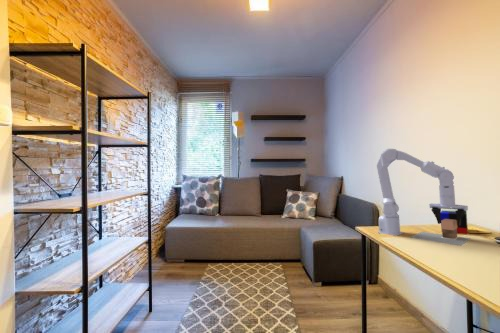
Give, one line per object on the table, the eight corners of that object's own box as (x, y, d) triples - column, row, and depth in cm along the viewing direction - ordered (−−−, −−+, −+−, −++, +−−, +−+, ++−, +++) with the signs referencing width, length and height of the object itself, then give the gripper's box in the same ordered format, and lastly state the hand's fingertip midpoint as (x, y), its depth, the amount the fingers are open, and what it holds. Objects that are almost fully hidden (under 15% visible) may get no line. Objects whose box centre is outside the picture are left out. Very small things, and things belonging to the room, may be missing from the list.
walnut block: (442, 237, 126) (442, 228, 126) (445, 235, 129) (445, 227, 129) (454, 239, 122) (453, 230, 122) (457, 236, 125) (456, 228, 125)
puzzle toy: (441, 232, 135) (440, 213, 135) (443, 228, 143) (442, 209, 142) (467, 235, 128) (465, 214, 128) (467, 230, 136) (466, 210, 136)
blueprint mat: (409, 238, 129) (409, 237, 129) (421, 232, 138) (421, 231, 138) (460, 246, 113) (460, 245, 113) (470, 239, 122) (470, 238, 122)
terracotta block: (441, 228, 126) (441, 220, 126) (445, 227, 129) (444, 218, 128) (453, 230, 122) (452, 221, 122) (456, 228, 125) (456, 219, 125)
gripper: (426, 195, 129) (428, 224, 129) (463, 197, 117) (465, 228, 117) (431, 194, 133) (433, 221, 133) (468, 195, 121) (470, 225, 121)
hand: (449, 224), depth 125 cm, fingers open, 7 cm apart
